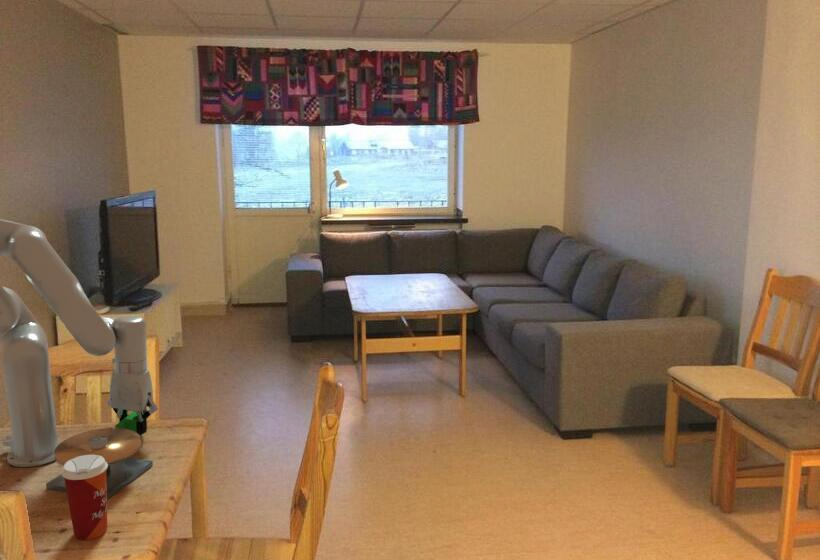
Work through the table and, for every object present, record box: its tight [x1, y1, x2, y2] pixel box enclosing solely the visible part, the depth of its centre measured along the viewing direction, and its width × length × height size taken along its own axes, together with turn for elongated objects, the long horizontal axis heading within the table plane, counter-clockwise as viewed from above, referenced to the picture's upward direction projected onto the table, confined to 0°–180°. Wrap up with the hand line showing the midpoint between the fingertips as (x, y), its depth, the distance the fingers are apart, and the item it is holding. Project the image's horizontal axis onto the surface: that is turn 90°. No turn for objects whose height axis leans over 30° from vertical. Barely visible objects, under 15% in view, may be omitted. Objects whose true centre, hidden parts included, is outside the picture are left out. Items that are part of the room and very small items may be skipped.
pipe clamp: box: [114, 411, 139, 433], centre depth 181 cm, size 11×4×5 cm, turn 174°
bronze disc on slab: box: [45, 427, 154, 500], centre depth 160 cm, size 18×18×10 cm
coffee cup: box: [61, 455, 108, 541], centre depth 138 cm, size 8×8×15 cm
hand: (133, 431), depth 181 cm, fingers closed on pipe clamp, 4 cm apart
